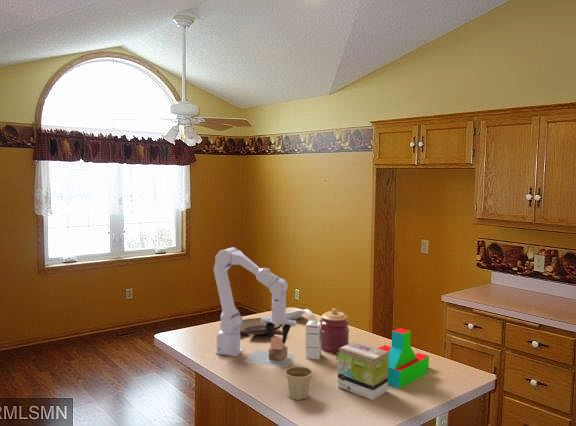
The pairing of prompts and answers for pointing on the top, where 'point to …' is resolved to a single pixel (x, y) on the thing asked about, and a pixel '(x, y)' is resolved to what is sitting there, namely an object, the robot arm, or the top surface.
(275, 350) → the walnut block
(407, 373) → the building blocks toy
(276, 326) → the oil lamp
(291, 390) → the flower pot
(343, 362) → the tea box
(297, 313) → the spoon rest
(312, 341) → the syrup box
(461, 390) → the top surface
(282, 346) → the terracotta block
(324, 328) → the canister
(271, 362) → the mat
